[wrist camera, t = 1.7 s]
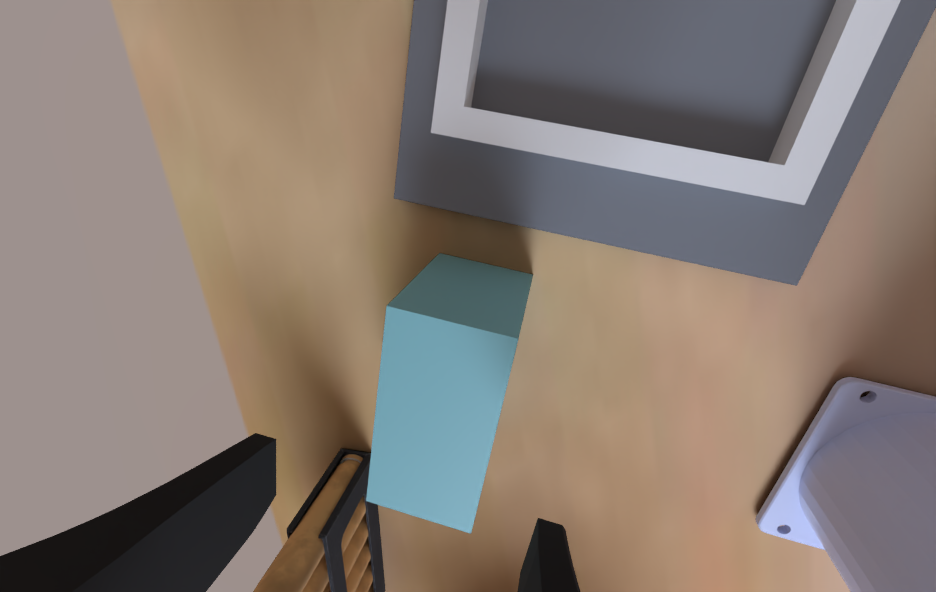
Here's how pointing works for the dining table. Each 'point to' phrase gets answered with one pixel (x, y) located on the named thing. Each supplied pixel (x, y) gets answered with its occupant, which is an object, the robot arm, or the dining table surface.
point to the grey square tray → (652, 118)
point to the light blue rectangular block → (444, 387)
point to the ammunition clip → (332, 536)
